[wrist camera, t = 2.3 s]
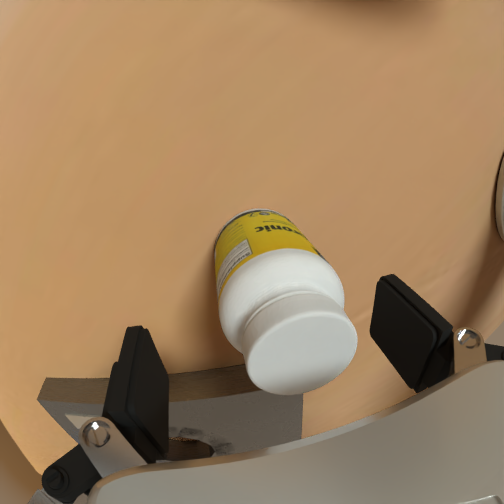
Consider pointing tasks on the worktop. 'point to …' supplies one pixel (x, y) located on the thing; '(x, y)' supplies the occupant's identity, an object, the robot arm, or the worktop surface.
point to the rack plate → (192, 412)
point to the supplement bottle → (281, 304)
